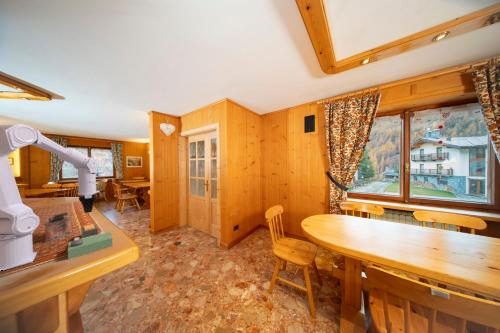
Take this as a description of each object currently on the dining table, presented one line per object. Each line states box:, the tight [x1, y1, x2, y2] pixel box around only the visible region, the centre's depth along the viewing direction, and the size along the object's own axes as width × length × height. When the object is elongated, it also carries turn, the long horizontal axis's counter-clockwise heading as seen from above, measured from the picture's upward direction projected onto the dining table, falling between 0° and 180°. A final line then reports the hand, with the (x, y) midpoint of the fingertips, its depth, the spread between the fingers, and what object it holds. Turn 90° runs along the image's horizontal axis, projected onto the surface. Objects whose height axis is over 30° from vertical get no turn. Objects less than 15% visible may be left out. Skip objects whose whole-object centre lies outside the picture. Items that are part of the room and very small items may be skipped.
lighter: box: [43, 212, 72, 243], centre depth 67 cm, size 8×3×10 cm, turn 179°
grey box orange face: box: [80, 223, 99, 239], centre depth 67 cm, size 4×7×5 cm, turn 50°
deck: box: [67, 230, 113, 260], centre depth 59 cm, size 11×13×4 cm
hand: (88, 211), depth 72 cm, fingers open, 4 cm apart
